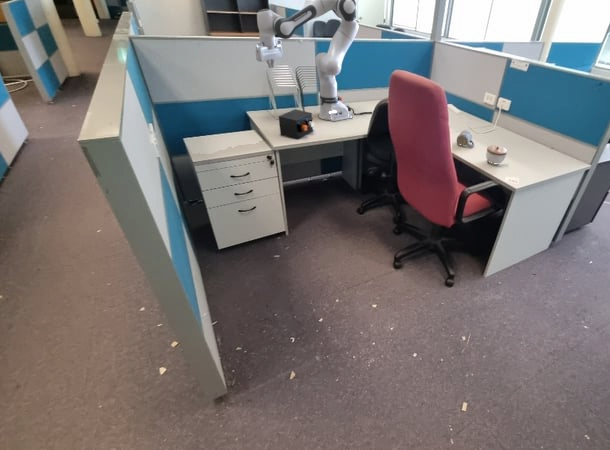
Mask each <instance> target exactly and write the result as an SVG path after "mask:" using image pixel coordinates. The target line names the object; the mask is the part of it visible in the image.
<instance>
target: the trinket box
mask: <svg viewBox="0 0 610 450" xmlns="http://www.w3.org/2000/svg"><path fill="white" fill-rule="evenodd" d="M507 154H508V150H507V149H506V148H505V147H502V146H499V145H489V146H487V148H486V154H485V157H486V161H487V163H488V164H490V165H493V166H498V165H499V164H501V163H503V162H504V160H505V159H506V156H507ZM489 161H490V162H492V163H490V162H489ZM494 163H499V164H494Z"/></svg>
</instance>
